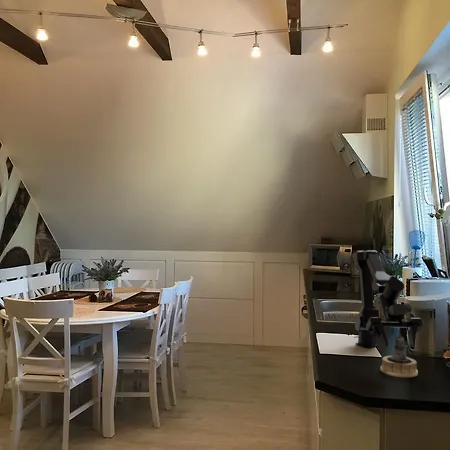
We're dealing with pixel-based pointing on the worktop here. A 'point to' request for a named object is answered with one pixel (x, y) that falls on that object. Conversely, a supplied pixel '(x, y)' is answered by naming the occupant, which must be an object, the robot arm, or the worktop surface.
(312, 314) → the worktop surface
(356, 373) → the worktop surface
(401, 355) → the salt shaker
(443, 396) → the worktop surface
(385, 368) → the beige round ring
